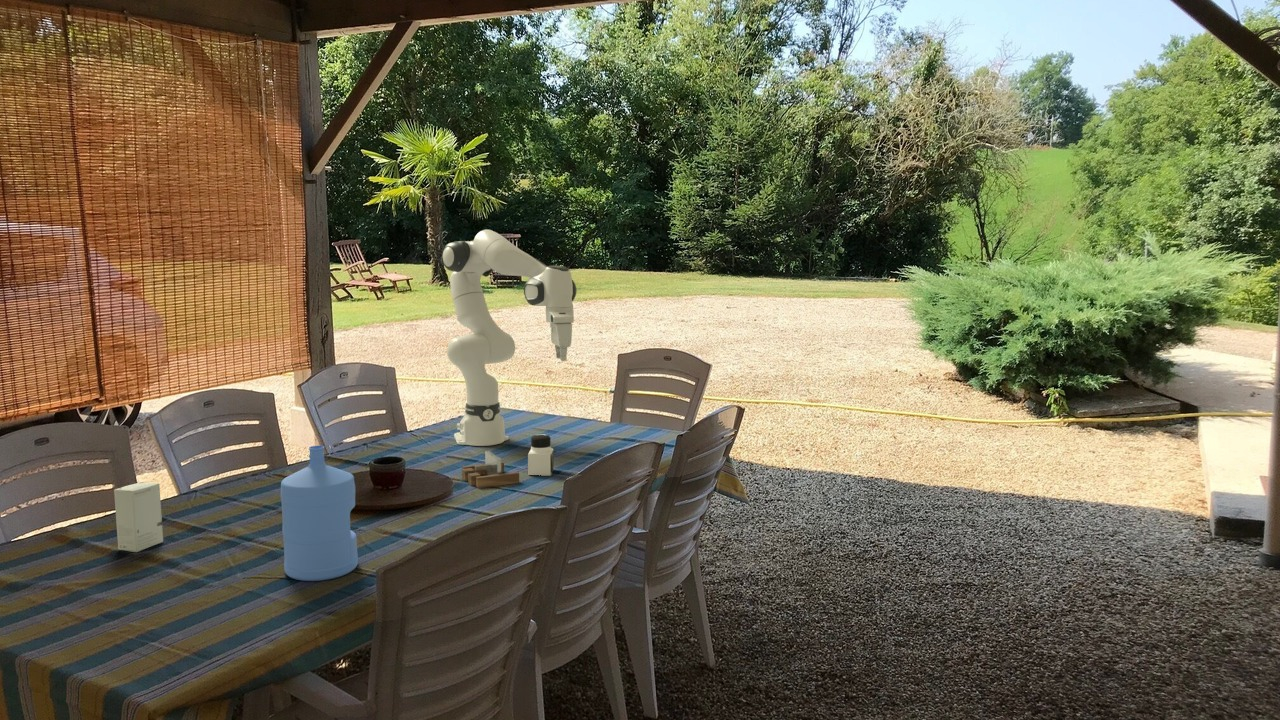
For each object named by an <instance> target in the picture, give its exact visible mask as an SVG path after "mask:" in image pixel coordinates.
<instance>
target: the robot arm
mask: <svg viewBox="0 0 1280 720" xmlns="http://www.w3.org/2000/svg"><path fill="white" fill-rule="evenodd" d="M441 259H442V260H441V261H442V263H443V265H444V267H445V269H446V270H448V271H450V272H452V273H451V274H450V276H449V284H450V285H449V286H450V293H451V298H452V302H453V303H452V304H453V306H454V309H455V313H456V314H455V315H456V318H457V321H458V322H459V323H460V324H461V325H462V326H463V327H465V328H467V329H469V331H471V332H472V333H473V334H463V335H459V336H456V337H454V338H451V340H450V341H449V342H448V344H447V349H446V353H447V358H448V359H449V361H450V363H452V365H454V366H455V367H457V368H458V369H459V370H460V372H461V374H462V376H463V377H464V382H465V387H466V404H465V407H464V408H465V409H464V412H465V413H464V416H463V417H462V418H461V420H460V421H459V422H457V423H456V429H457V430H458V431H459V430H460V431H459V432H458V431H457V432H455V433H454V434H453V437H454V439H455V441H456V443H457V445H460V446H461V445H463V446H464V445H465V446H476V447H477V446H478V447H480V446H481V447H484V446H485V447H486V446H494V445H495V446H496V445H499V444H502V443H504V442H505V441H508V440H509V439H510V438H509V436H508V435H507V434H506V433H505V432H506V431H505V430H506V429H505V420H504V417H503V416H502V414H500V412H501V404H500V401H499V382H498V380H497V379H496V378H495V377H494V376H493V375H490V374H489V373H487V370H486V367H485V365H491V364H499V363H500V364H501V363H503V362H506V361H508V360H511V358H513V356H514V354H515V352H516V342H515V340H514V338H513V337H512V336H511V335H510V333H507V332H505V331H504V330H503V329H501V328H500V326H498V325H497V323H496V322H495V321H494V319H493V318H492V315H491V313H490V312H489V309H488V305H487V303H486V298H485V295H484V292H483V289H482V285H481V279H482V276H483V277H485V278H486V277H489V276H490V275H491V273H493V272H495V273H497V274H499V275H504V276H516V277H518V276H519V277H523V278H524V277H526V278H528V279H527V280H526V282H525V284H524V286H523V295H524V299H525V300H526V302H527V303H528V304H529V305H531V306H534V307H535V306H536V307H545V322H546V323H549V327H550V336H551V337H550V338H551V340H550V341H551V344H552V345H554V349H555V358H556V359H559V360H560V361H561V362H566V361H567V354H568V348H569V347H571V345H572V336H573V323H574V321H575V318H574V304H573V302H574V301H575V298H576V295H577V286H576V283H575V281H574V280H573V277H572V273H571V270H570V268H568V267H567V266H563V265H554V264H553V265H546V263H544V262H542V261H540V260H539V259H538V258H535V257H534V256H532V255H530V254H529V253H527V252H525V251H523V250H522V249H520V248H519V247H517V246H516V245H515V244H513V243H512V242H510V241H509V240H508V239H507V238H505V237H504V236H503V235H502V234H499V233H498V232H496V231H495V230H494V231H493V230H492V229H482V230H480V231H479V232H478V233H477V234H476V235H475V236H474V239H473V240H470V241H469V240H467V241H466V240H458V241H457V240H456V241H453V242H449V243H447V244H446V245H445V246H444V248H443V250H442V253H441Z"/></svg>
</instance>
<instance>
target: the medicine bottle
mask: <svg viewBox="0 0 1280 720" xmlns="http://www.w3.org/2000/svg"><path fill="white" fill-rule="evenodd" d="M551 438H552V437H551V436H550V435H547V434H543V433H542V434H541V433H540V434H534V435H532V436H531V438H530V450H529V452H528V454H527V464H528V465H527V471H528V473H527V474H528V476H529V475H539V477H547V476H548V477H551V476H552V474H553V471H554V469H555V467H554V466H555V465H554V463H555V461H554V456H555V455H554V448H552V447H551V443H552V442H551ZM540 475H541V476H540Z"/></svg>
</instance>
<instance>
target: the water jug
mask: <svg viewBox="0 0 1280 720" xmlns="http://www.w3.org/2000/svg"><path fill="white" fill-rule="evenodd" d="M324 449H325V446H323V445H312V446H309V447H308V450H309V455H308V458H309V464H308V466H306V467H304V468H302V469H300V470H298V471H296V472H294V473H291V474H290V475H287V477H285V478H283V479H282V481H281V483H280V492H279V493H280V502H281V512H282V514H281V515H282V516H281V517H282V526H281V527H282V532H281V533H282V538H283V552H284V553H283V554H284V555H283V556H284V557H283V558H284V562H283V568H284V573H285V574H286V575H287V576H288V577H289V578H290V579H294V580H298V581H302V582H303V581H304V582H318V581H328V580H332V579H337V578H339V577H343V576H345V575H347V574H349V573H351V572H352V571H354V570H355V569H356V568H357V566H358V564H359V555H358V545H357V544H358V541H357V537H358V536H357V534H356V532H354V530H351V511H352V510H353V509H354V508H355V506H356V482H355V476H354V475H353V474H352V473H350V472H349V471H345V470H344V469H339V468H337V467H334V466H331V465H327V464H326V462H325V453H324Z"/></svg>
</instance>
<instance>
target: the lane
mask: <svg viewBox="0 0 1280 720" xmlns="http://www.w3.org/2000/svg"><path fill="white" fill-rule="evenodd" d="M478 465H485V463H481V464H470V465H462V467H461V468H462V469H461V476H462V477H461V478H462V480H463V481H464V482H467V483H468V484H469V486H470V487H476V488H477V489H481V488H488V487H489V488H490V487H495V486H496V487H498V486H503V485H504V486H505V485H510V484H511V485H512V484H519V483H520V472H518V471H514V472H505V462H504V461H501V474H496V475H487V474H486V472H485V470H477V471H476V470H475V466H478Z"/></svg>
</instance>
